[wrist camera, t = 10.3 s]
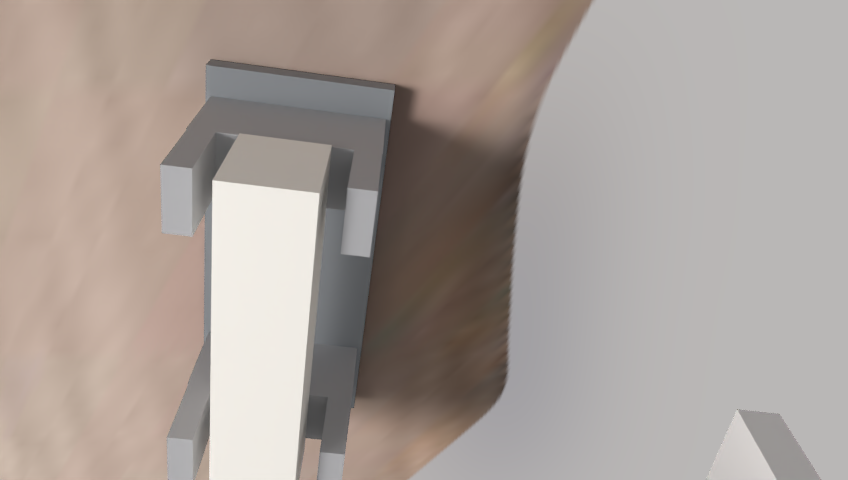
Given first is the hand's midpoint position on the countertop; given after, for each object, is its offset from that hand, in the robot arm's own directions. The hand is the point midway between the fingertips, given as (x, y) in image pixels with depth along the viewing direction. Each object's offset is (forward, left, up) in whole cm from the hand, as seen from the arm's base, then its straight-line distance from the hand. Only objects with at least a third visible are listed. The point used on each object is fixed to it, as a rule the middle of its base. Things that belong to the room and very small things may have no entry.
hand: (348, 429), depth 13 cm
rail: (+12, -4, -21) cm, 25 cm away
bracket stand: (+12, -4, -27) cm, 30 cm away
